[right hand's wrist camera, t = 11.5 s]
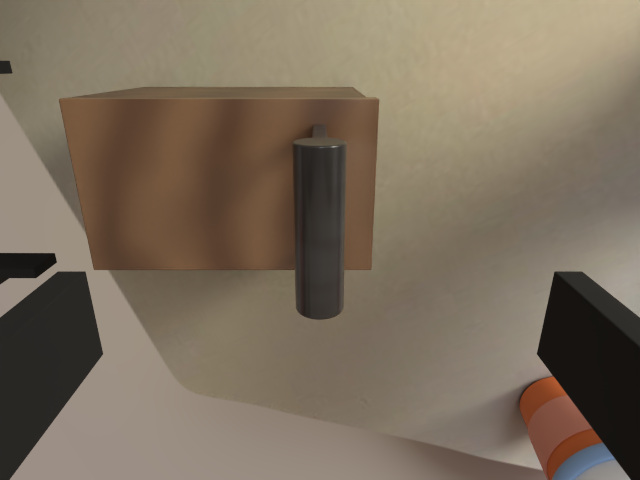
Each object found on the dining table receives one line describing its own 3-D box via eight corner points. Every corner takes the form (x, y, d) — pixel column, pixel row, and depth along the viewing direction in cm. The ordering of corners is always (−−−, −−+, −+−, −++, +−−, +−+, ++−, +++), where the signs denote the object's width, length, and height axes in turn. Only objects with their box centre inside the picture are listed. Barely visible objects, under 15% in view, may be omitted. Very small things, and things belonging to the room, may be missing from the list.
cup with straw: (500, 437, 47) (601, 646, 30) (507, 366, 43) (624, 556, 27) (589, 432, 46) (740, 640, 30) (602, 360, 43) (781, 548, 26)
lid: (376, 97, 24) (404, 114, 16) (369, 262, 28) (389, 342, 20) (69, 97, 24) (-54, 114, 16) (101, 262, 28) (14, 342, 20)
